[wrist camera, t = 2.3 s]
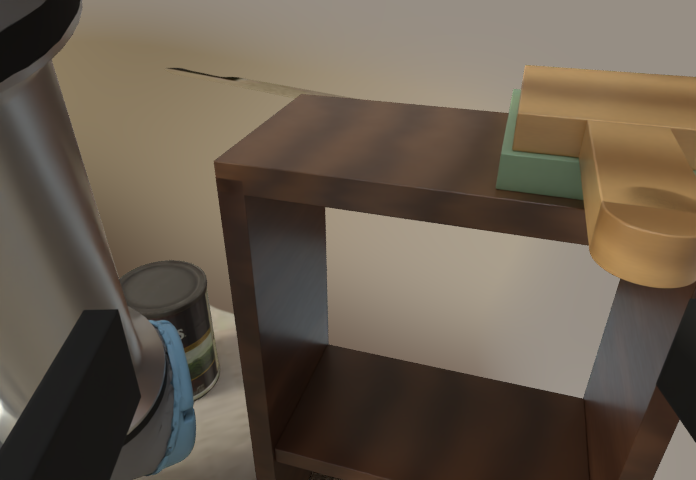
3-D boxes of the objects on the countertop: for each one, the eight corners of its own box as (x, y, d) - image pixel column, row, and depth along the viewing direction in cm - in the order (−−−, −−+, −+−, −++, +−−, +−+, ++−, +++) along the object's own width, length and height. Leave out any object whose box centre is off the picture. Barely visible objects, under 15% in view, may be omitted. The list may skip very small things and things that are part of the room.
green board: (495, 189, 29) (500, 153, 28) (509, 117, 39) (513, 88, 38) (733, 219, 26) (749, 181, 25) (683, 133, 36) (693, 103, 35)
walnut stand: (264, 537, 52) (212, 160, 32) (315, 423, 63) (301, 93, 44) (581, 638, 45) (764, 232, 25) (575, 488, 56) (697, 130, 37)
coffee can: (209, 408, 65) (191, 314, 58) (123, 405, 66) (94, 311, 58) (229, 348, 74) (216, 260, 67) (153, 346, 74) (131, 258, 67)
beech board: (520, 95, 36) (525, 64, 35) (689, 110, 34) (699, 77, 33) (494, 262, 19) (502, 212, 18) (829, 316, 17) (860, 261, 16)
